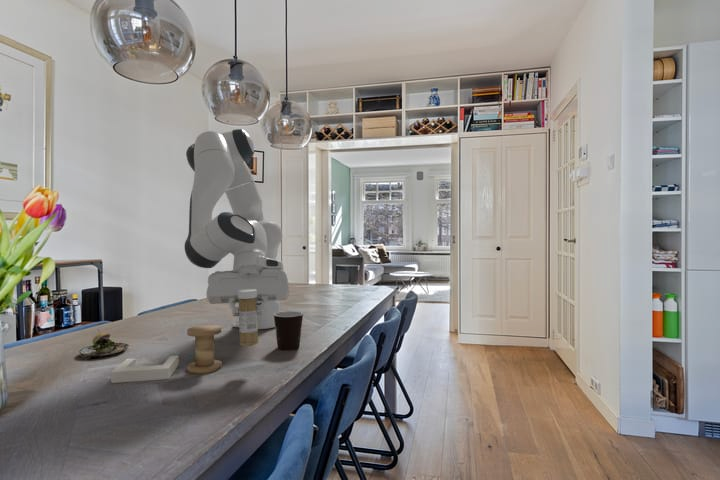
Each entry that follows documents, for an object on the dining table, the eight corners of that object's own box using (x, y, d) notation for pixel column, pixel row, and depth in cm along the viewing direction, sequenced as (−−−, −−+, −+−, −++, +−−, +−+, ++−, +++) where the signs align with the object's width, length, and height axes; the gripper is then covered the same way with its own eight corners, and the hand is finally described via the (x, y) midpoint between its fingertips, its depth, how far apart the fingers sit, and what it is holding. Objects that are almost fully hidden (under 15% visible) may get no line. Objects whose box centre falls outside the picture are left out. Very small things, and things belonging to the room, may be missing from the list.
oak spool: (190, 364, 102) (190, 325, 102) (223, 362, 104) (223, 324, 104) (184, 375, 95) (184, 333, 94) (219, 372, 96) (219, 331, 96)
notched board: (127, 368, 99) (127, 358, 99) (178, 365, 102) (178, 355, 102) (111, 383, 89) (111, 372, 89) (168, 378, 92) (168, 368, 92)
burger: (85, 363, 104) (85, 335, 104) (73, 354, 112) (73, 328, 112) (135, 353, 113) (135, 327, 113) (120, 346, 121) (120, 321, 121)
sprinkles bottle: (257, 340, 100) (255, 287, 99) (259, 345, 96) (258, 290, 95) (238, 342, 98) (236, 288, 98) (239, 347, 94) (238, 291, 94)
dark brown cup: (297, 352, 113) (297, 317, 113) (269, 350, 115) (268, 316, 115) (310, 341, 125) (310, 310, 124) (284, 340, 126) (284, 309, 126)
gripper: (207, 264, 101) (200, 309, 92) (288, 261, 105) (289, 304, 96) (210, 279, 106) (204, 324, 96) (288, 276, 110) (289, 318, 100)
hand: (247, 314), depth 96 cm, fingers closed on sprinkles bottle, 4 cm apart
